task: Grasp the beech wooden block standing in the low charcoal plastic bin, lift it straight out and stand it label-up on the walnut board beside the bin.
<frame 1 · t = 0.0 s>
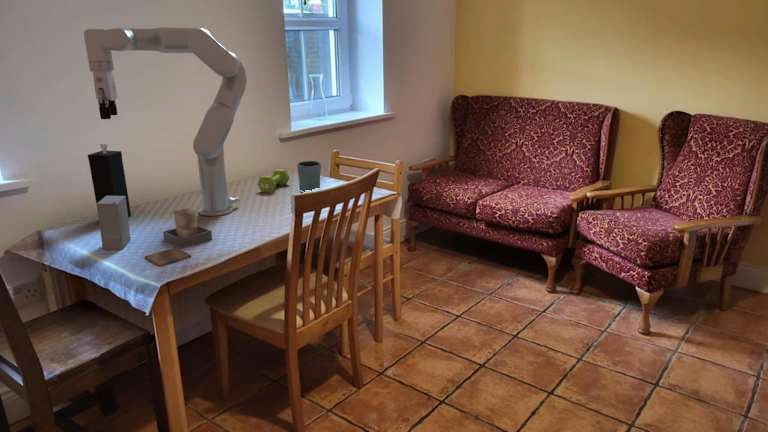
hand: (109, 117, 200), 37 cm above the table, tool pointing down, fingers open, 9 cm apart
walnut board: (168, 257, 174), on the table
dumbbell: (274, 189, 250), on the table
beech block: (186, 225, 187), in the bin
grey cup: (310, 191, 245), on the table
skincare box: (118, 246, 184), on the table
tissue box: (115, 219, 211), on the table
bin: (188, 239, 189), on the table
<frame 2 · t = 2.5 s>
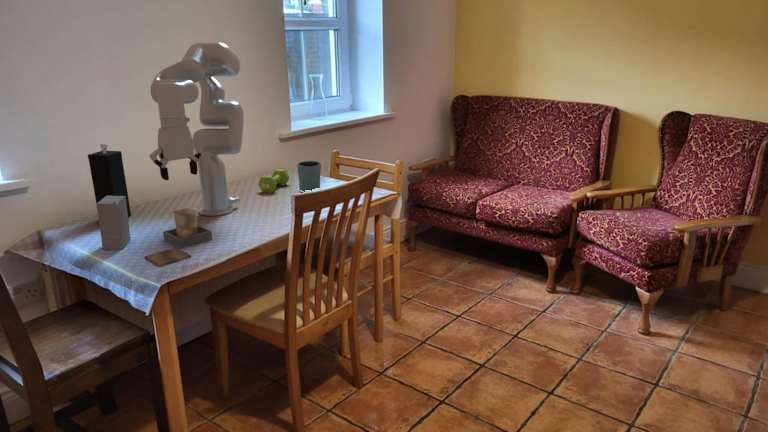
hand: (180, 176, 182), 21 cm above the table, tool pointing down, fingers open, 9 cm apart
nothing on the table moved.
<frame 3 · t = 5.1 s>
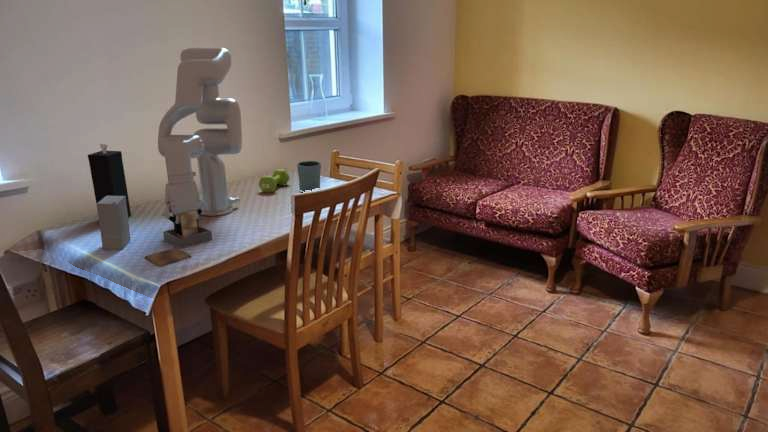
hand: (187, 231, 188), 3 cm above the table, tool pointing down, fingers closed on beech block, 5 cm apart
beech block: (186, 225, 187), in the bin, touching gripper
everything else where it was.
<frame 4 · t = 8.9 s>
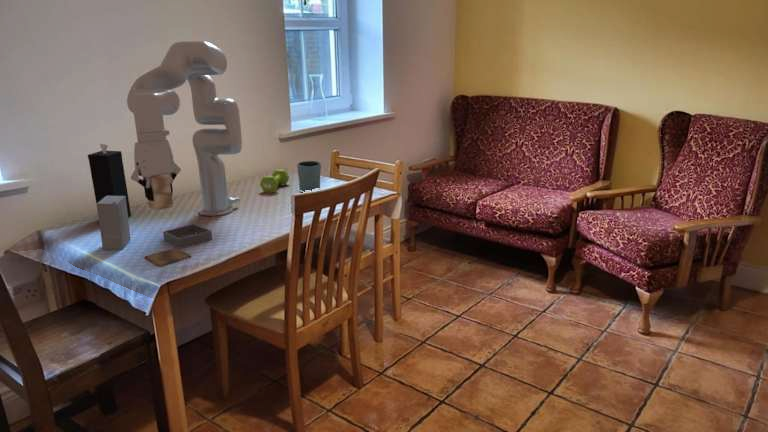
hand: (159, 197, 168), 19 cm above the table, tool pointing down, fingers closed on beech block, 5 cm apart
beech block: (158, 190, 167), point 21 cm above the table, touching gripper
everything else where it was.
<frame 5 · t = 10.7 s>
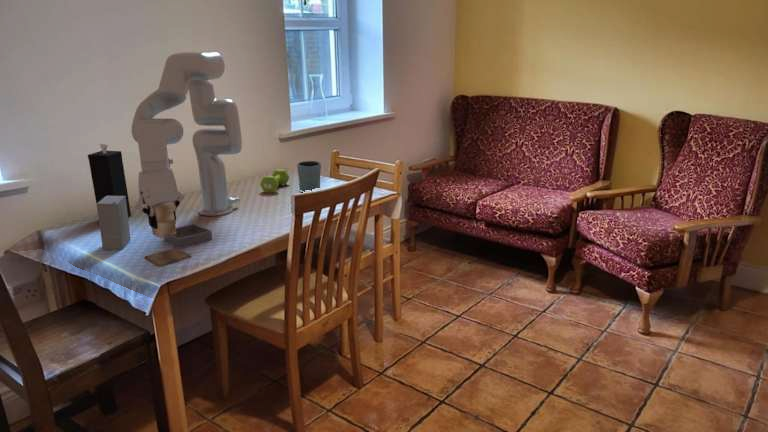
hand: (163, 224, 170), 11 cm above the table, tool pointing down, fingers closed on beech block, 5 cm apart
beech block: (162, 218, 170), point 13 cm above the table, touching gripper
everything else where it was.
when the fingers open (5 cm above the table, at t = 12.5 s): beech block drops 1 cm, resting on walnut board.
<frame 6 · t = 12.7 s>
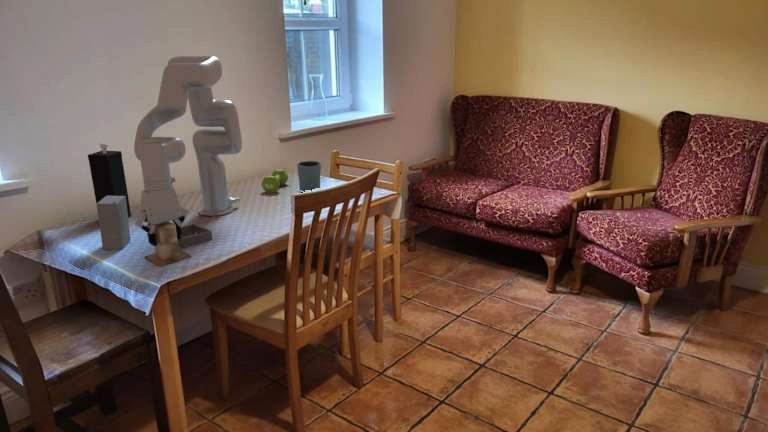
hand: (165, 241, 172), 5 cm above the table, tool pointing down, fingers open, 7 cm apart
beech block: (165, 240, 172), on the walnut board, point 6 cm above the table
everything else where it was.
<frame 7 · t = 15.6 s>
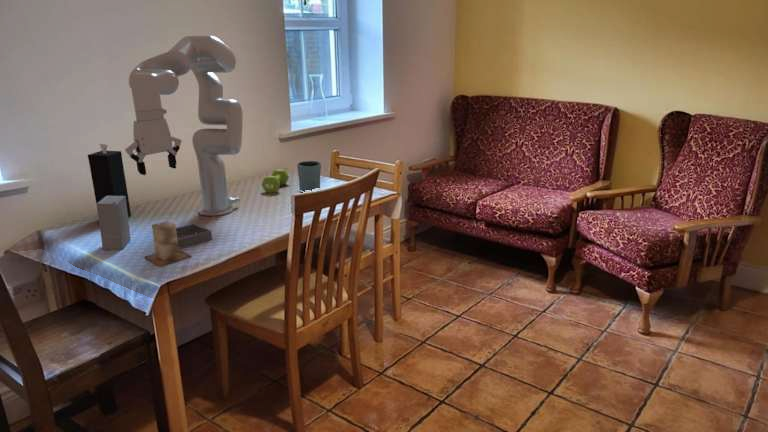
hand: (158, 170, 175), 25 cm above the table, tool pointing down, fingers open, 9 cm apart
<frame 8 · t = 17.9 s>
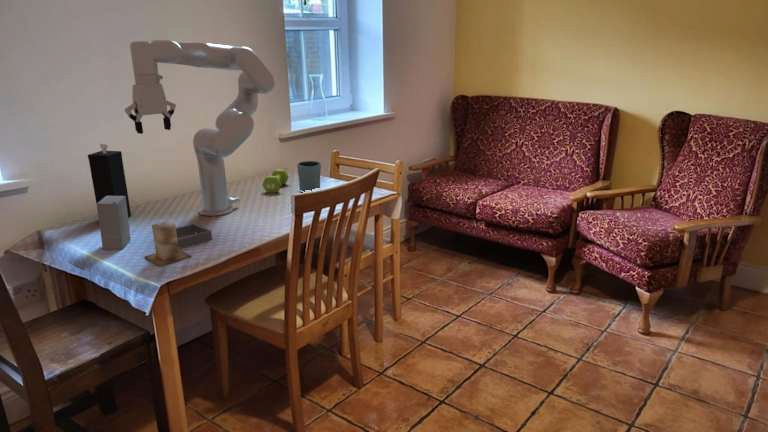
hand: (154, 131, 194), 33 cm above the table, tool pointing down, fingers open, 9 cm apart
at the end: beech block inside the target area on the walnut board (0.0 cm from its centre), point 5.7 cm above the walnut board's base; beech block tilted 0°; the gripper is holding nothing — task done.
